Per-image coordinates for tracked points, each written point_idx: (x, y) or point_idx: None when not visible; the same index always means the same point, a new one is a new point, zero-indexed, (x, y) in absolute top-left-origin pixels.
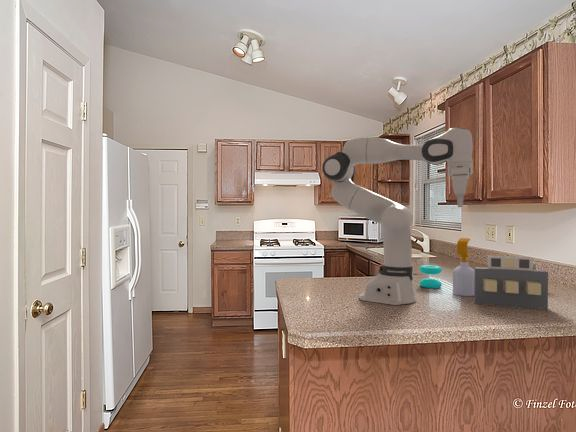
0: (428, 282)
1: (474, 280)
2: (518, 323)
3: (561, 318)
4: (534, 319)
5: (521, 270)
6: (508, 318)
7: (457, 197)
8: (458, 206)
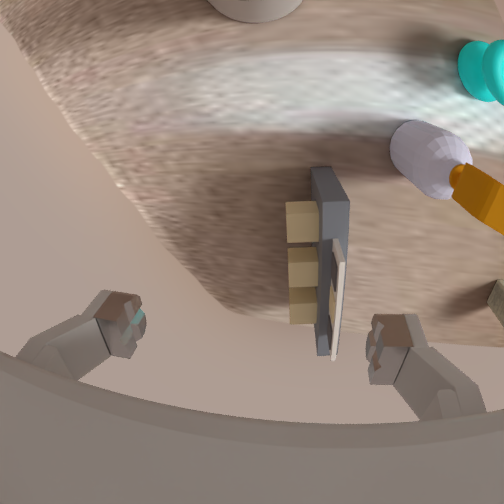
0: (466, 61)
1: (416, 186)
2: (171, 238)
3: (249, 305)
4: (217, 266)
5: (322, 314)
6: (198, 225)
7: (28, 346)
8: (103, 296)
